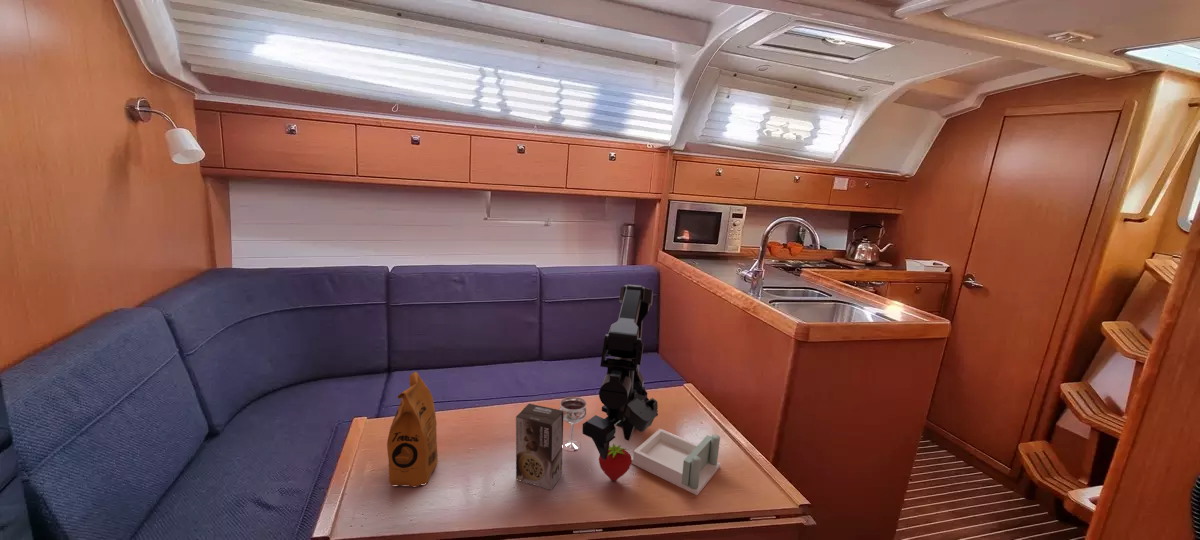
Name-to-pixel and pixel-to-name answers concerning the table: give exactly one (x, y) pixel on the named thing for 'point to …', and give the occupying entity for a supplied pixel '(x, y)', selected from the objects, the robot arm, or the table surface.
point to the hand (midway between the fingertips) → (616, 449)
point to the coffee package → (413, 436)
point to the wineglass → (573, 415)
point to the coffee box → (539, 445)
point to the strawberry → (616, 462)
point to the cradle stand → (679, 459)
